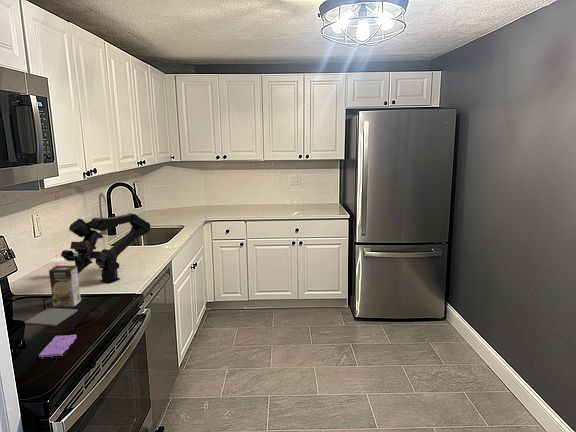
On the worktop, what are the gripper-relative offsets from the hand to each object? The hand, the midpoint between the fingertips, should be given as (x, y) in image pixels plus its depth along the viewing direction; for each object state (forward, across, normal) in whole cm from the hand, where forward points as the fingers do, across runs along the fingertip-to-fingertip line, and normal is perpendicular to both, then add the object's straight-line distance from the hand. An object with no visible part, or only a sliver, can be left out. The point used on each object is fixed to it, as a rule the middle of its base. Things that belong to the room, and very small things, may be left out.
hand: (76, 273), depth 181 cm
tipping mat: (+22, +2, -7) cm, 23 cm away
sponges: (+37, +21, -21) cm, 48 cm away
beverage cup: (-8, -26, +23) cm, 36 cm away
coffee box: (+13, 0, +2) cm, 13 cm away
